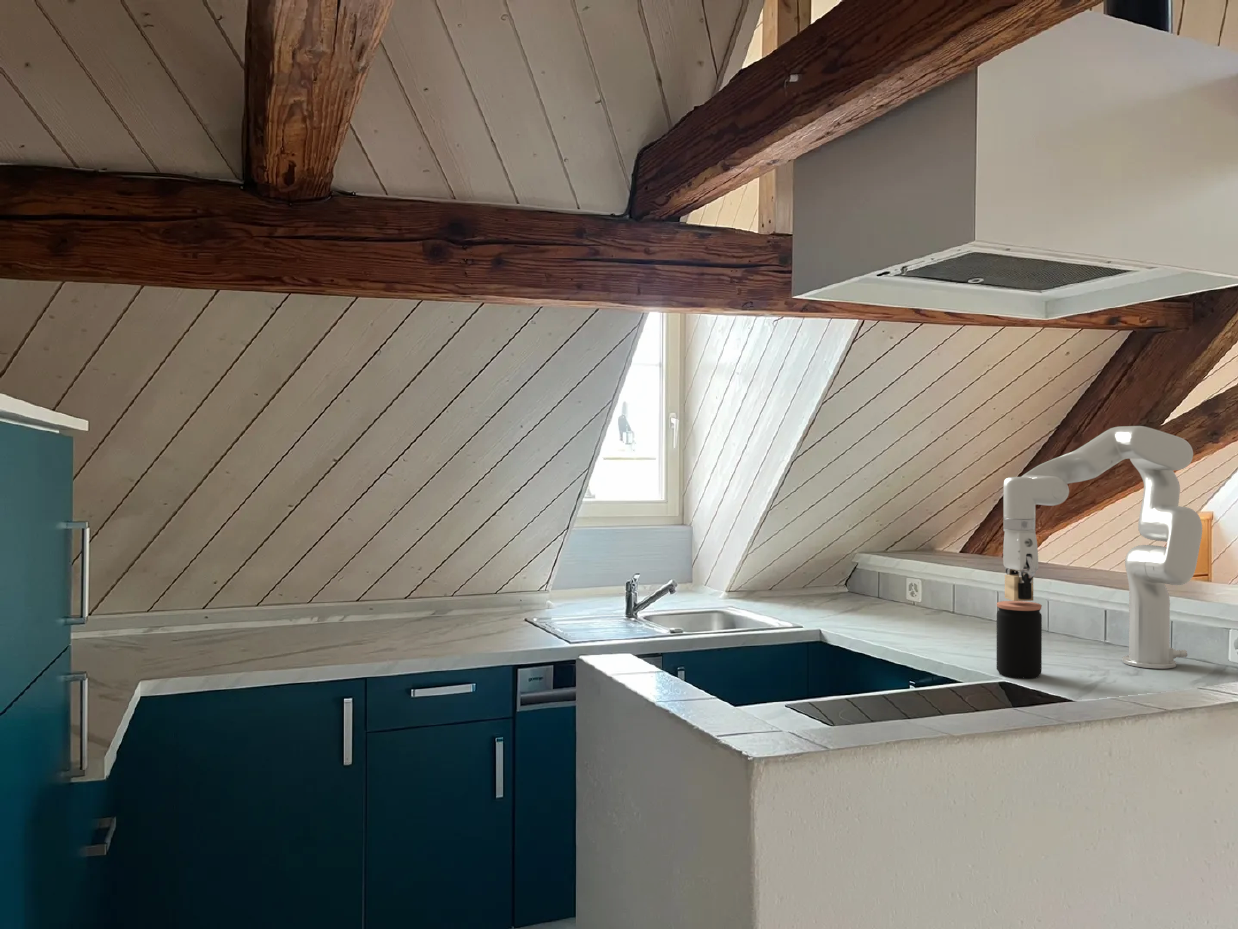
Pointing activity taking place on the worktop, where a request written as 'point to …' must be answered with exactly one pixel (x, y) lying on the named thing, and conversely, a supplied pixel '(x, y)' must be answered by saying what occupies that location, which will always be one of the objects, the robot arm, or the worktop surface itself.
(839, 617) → the worktop surface
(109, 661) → the worktop surface
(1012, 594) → the oak block
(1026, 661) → the coffee jar
